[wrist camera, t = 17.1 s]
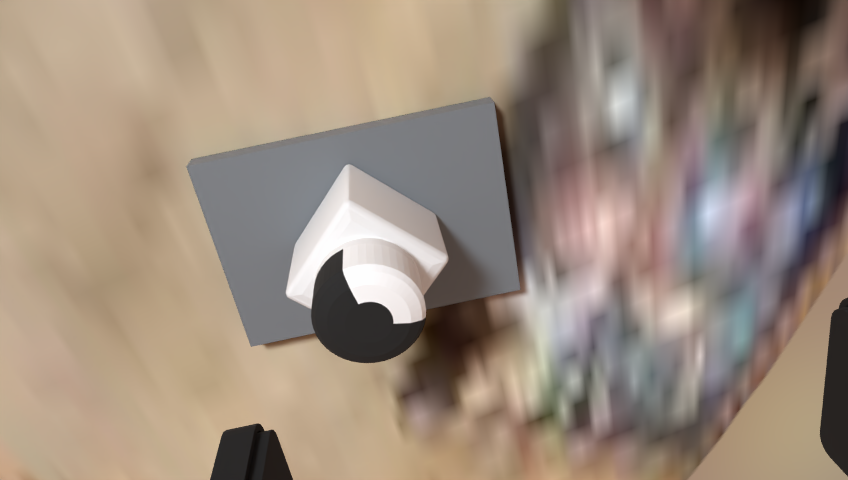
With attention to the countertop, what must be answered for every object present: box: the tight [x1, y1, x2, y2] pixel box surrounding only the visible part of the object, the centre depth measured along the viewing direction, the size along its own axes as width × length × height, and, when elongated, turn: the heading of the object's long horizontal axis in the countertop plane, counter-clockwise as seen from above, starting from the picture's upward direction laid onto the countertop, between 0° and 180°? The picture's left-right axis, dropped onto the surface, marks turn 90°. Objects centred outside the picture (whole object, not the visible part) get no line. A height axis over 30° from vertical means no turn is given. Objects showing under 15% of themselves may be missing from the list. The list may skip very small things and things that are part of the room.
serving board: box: [186, 97, 520, 347], centre depth 45 cm, size 20×14×2 cm
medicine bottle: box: [286, 164, 448, 363], centre depth 39 cm, size 7×7×12 cm
